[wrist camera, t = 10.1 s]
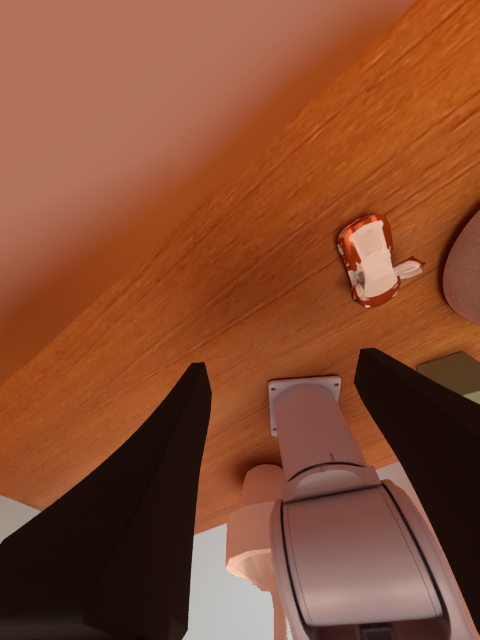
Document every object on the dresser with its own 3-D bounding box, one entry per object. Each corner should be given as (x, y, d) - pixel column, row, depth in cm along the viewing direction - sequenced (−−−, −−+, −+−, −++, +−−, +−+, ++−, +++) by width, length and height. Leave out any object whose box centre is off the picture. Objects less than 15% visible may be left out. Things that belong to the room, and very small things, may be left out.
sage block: (462, 380, 24) (506, 414, 20) (419, 392, 25) (453, 427, 21) (462, 350, 22) (510, 382, 18) (416, 365, 23) (452, 398, 19)
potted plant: (302, 491, 36) (401, 954, 14) (232, 493, 36) (219, 945, 14) (307, 445, 30) (499, 1130, 8) (224, 448, 30) (180, 1105, 8)
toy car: (347, 314, 20) (365, 331, 17) (321, 234, 17) (338, 240, 14) (405, 290, 19) (434, 304, 16) (390, 199, 16) (422, 197, 13)
